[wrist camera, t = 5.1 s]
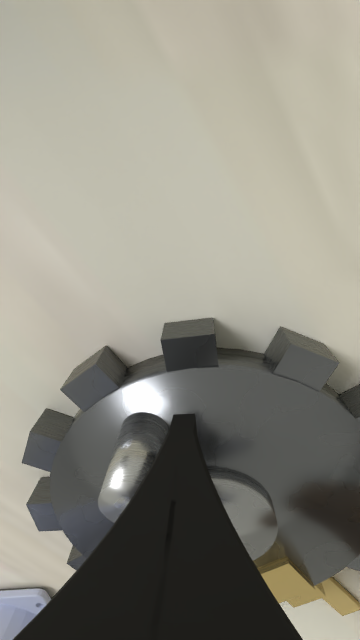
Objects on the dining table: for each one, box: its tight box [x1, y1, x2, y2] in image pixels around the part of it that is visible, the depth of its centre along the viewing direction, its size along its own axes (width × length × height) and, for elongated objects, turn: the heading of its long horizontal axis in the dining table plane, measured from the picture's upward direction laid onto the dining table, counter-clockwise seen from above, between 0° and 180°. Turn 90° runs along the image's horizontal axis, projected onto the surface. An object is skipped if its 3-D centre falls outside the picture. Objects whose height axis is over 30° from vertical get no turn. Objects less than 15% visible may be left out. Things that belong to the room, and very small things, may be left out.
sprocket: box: [22, 318, 360, 607], centre depth 12 cm, size 16×16×4 cm
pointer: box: [322, 577, 360, 616], centre depth 17 cm, size 4×1×1 cm, turn 41°
